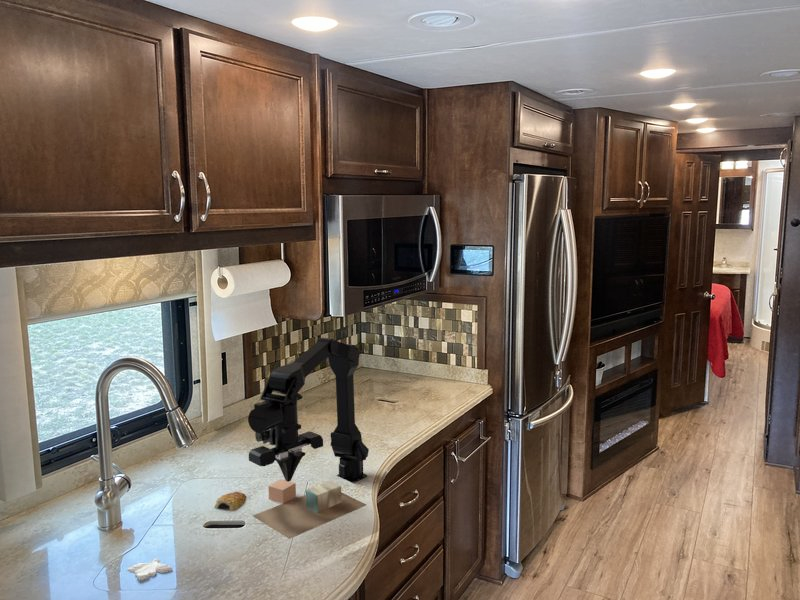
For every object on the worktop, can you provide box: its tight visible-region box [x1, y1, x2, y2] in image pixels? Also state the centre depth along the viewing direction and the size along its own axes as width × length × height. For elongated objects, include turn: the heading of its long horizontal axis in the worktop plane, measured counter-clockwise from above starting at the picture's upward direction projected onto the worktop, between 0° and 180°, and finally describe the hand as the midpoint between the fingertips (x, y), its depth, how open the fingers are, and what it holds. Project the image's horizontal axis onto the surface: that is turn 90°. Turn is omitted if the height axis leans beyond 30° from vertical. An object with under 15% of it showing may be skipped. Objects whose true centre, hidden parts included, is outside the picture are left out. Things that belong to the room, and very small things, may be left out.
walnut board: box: [252, 491, 367, 539], centre depth 163 cm, size 24×16×1 cm, turn 134°
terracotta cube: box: [268, 478, 297, 504], centre depth 170 cm, size 5×5×5 cm
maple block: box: [305, 480, 342, 513], centre depth 165 cm, size 4×4×8 cm
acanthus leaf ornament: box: [126, 557, 173, 581], centre depth 139 cm, size 8×7×2 cm
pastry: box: [213, 491, 247, 511], centre depth 168 cm, size 9×7×4 cm
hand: (288, 480), depth 160 cm, fingers closed
